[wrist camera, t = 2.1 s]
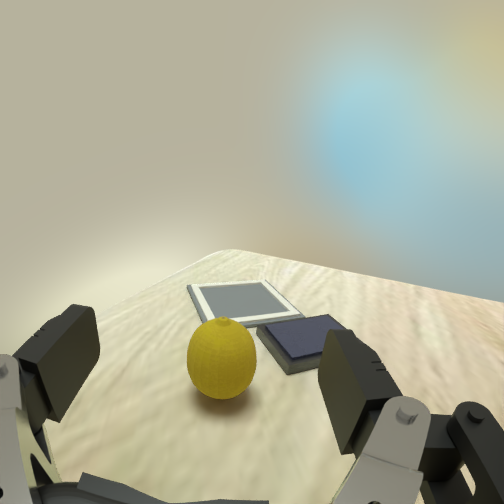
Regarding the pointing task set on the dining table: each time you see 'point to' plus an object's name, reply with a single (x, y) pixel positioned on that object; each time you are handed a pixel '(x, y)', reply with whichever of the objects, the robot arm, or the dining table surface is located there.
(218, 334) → the lemon
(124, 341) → the dining table surface
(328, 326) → the ink pad
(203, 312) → the marked board
